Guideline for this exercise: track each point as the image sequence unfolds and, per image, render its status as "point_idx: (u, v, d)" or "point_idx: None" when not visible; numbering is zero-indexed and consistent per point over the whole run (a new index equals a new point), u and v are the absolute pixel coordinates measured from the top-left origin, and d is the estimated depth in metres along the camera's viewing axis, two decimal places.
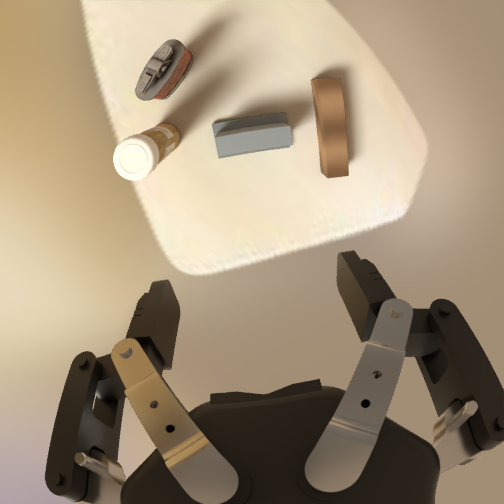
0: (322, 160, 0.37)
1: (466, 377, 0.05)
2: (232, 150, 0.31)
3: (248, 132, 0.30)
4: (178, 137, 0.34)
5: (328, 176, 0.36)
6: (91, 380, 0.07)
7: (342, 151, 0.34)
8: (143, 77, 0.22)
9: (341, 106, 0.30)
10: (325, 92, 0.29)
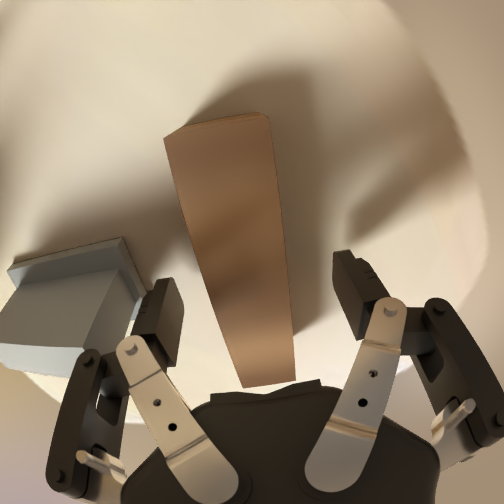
0: None
1: (463, 375, 0.05)
2: (16, 366, 0.10)
3: (15, 345, 0.09)
4: None
5: (244, 385, 0.15)
6: (96, 378, 0.07)
7: (278, 348, 0.13)
8: None
9: (272, 235, 0.09)
10: (201, 191, 0.08)
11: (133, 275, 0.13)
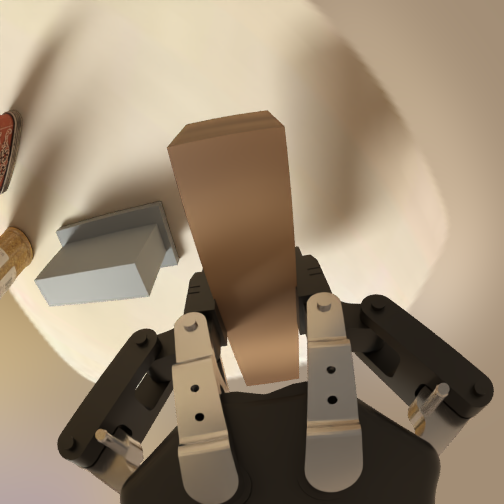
0: None
1: (425, 364, 0.06)
2: (61, 301, 0.15)
3: (71, 275, 0.14)
4: (26, 249, 0.19)
5: (248, 383, 0.15)
6: (144, 362, 0.08)
7: (283, 350, 0.13)
8: None
9: (283, 248, 0.09)
10: (210, 204, 0.08)
11: (167, 229, 0.19)
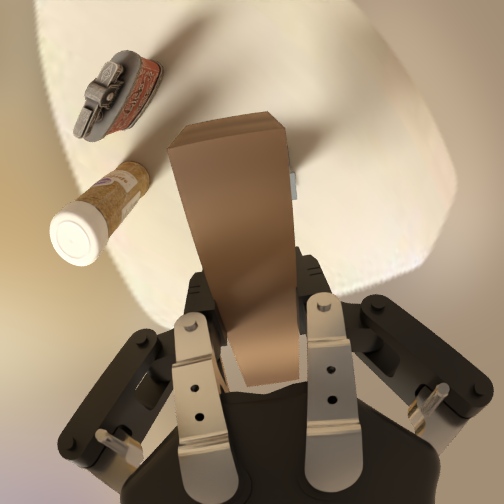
0: None
1: (425, 364, 0.06)
2: None
3: None
4: (146, 180, 0.26)
5: (248, 384, 0.15)
6: (144, 362, 0.08)
7: (283, 351, 0.13)
8: (81, 113, 0.14)
9: (283, 250, 0.09)
10: (210, 205, 0.08)
11: (289, 165, 0.27)
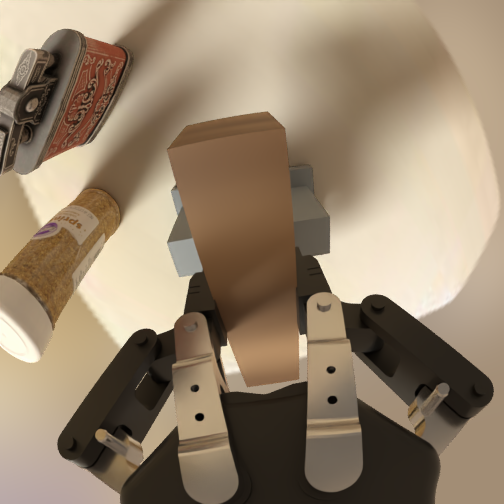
0: None
1: (425, 364, 0.06)
2: None
3: None
4: (115, 214, 0.19)
5: (248, 384, 0.15)
6: (144, 362, 0.08)
7: (283, 352, 0.13)
8: None
9: (283, 250, 0.09)
10: (210, 206, 0.08)
11: (313, 193, 0.19)
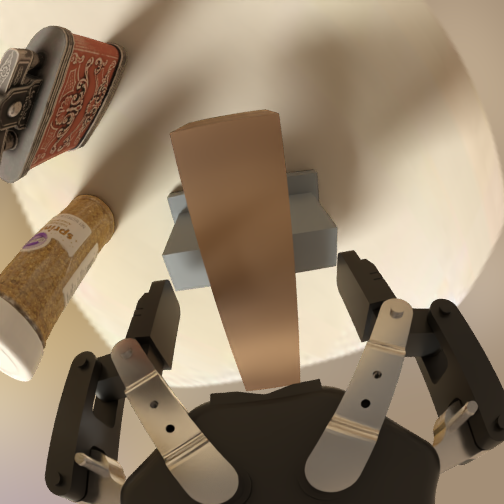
0: None
1: (466, 377, 0.05)
2: (203, 281, 0.15)
3: None
4: (109, 222, 0.18)
5: (248, 388, 0.14)
6: (91, 380, 0.07)
7: (283, 350, 0.13)
8: None
9: (280, 235, 0.09)
10: (209, 188, 0.08)
11: (317, 199, 0.18)
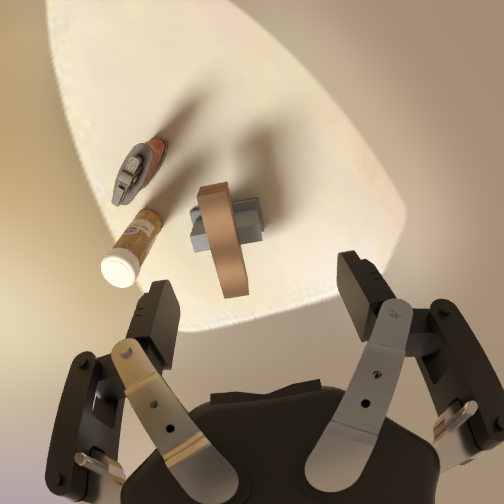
0: None
1: (466, 377, 0.05)
2: (206, 247, 0.35)
3: None
4: (160, 224, 0.39)
5: (225, 297, 0.35)
6: (91, 380, 0.07)
7: (237, 273, 0.33)
8: (117, 190, 0.27)
9: (229, 225, 0.30)
10: (207, 212, 0.29)
11: (260, 212, 0.39)
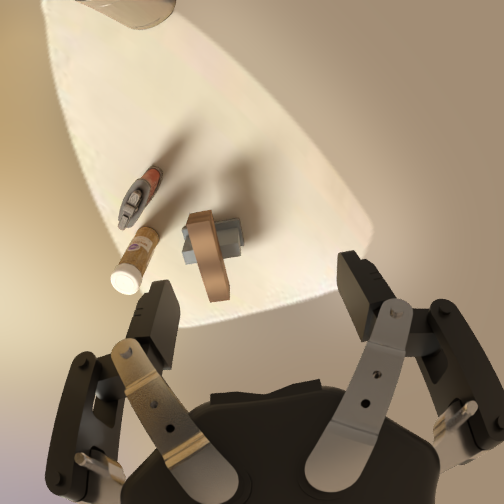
0: None
1: (466, 377, 0.05)
2: (195, 261, 0.43)
3: None
4: (157, 239, 0.46)
5: (210, 301, 0.43)
6: (92, 380, 0.07)
7: (219, 282, 0.41)
8: (122, 218, 0.34)
9: (212, 246, 0.37)
10: (195, 236, 0.36)
11: None
